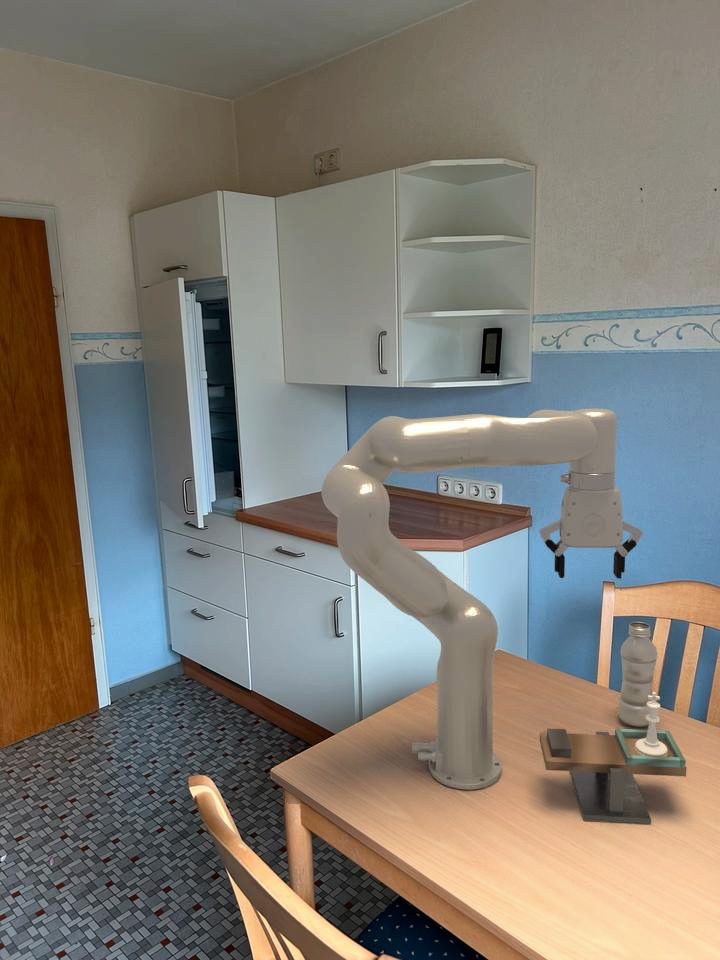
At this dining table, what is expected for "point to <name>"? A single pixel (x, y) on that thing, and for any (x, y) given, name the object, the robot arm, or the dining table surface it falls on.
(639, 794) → the stand
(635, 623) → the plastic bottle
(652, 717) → the chess piece
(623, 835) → the dining table surface
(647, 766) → the balance beam
